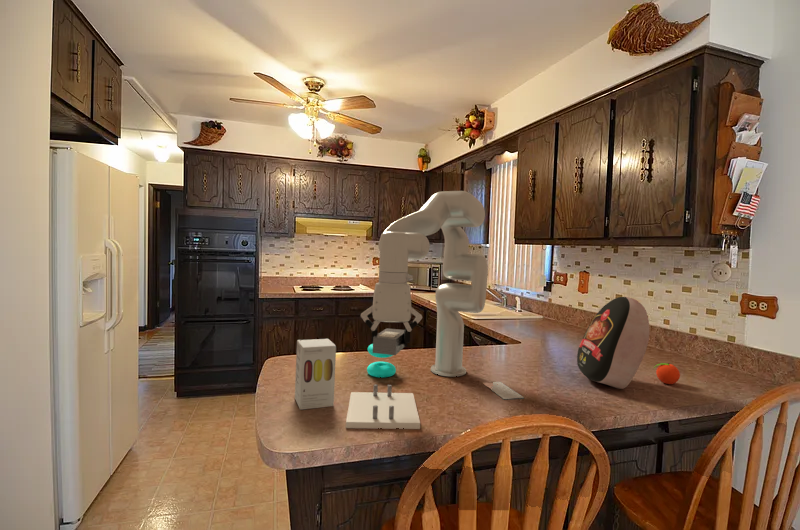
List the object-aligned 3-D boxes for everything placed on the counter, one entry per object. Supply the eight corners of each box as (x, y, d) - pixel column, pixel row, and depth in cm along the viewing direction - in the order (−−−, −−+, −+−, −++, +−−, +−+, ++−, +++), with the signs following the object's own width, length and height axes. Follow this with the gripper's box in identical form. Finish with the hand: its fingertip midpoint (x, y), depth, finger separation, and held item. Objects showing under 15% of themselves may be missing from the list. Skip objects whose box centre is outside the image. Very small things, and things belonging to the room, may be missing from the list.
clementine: (654, 384, 141) (656, 364, 141) (650, 378, 148) (651, 359, 147) (681, 388, 138) (683, 367, 138) (676, 382, 145) (677, 362, 144)
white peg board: (350, 397, 119) (351, 381, 119) (412, 398, 120) (413, 383, 120) (345, 428, 99) (346, 409, 99) (419, 429, 100) (420, 410, 100)
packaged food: (568, 371, 152) (573, 291, 151) (622, 374, 151) (628, 293, 150) (592, 392, 130) (598, 299, 129) (656, 396, 129) (663, 301, 128)
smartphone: (504, 399, 121) (481, 382, 136) (504, 401, 121) (481, 384, 136) (525, 397, 123) (500, 381, 138) (525, 399, 123) (500, 383, 138)
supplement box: (299, 410, 108) (301, 347, 107) (293, 398, 117) (295, 339, 116) (335, 406, 112) (336, 345, 111) (327, 394, 120) (328, 337, 120)
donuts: (371, 349, 135) (364, 342, 144) (370, 379, 135) (363, 370, 144) (400, 348, 138) (392, 341, 147) (399, 377, 138) (391, 368, 148)
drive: (386, 342, 115) (386, 327, 115) (406, 344, 114) (407, 329, 114) (372, 352, 104) (373, 336, 104) (395, 355, 102) (396, 338, 102)
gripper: (424, 278, 112) (421, 342, 113) (360, 276, 111) (357, 341, 112) (427, 281, 105) (424, 349, 106) (359, 278, 104) (356, 348, 104)
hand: (390, 344), depth 109 cm, fingers closed on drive, 7 cm apart
